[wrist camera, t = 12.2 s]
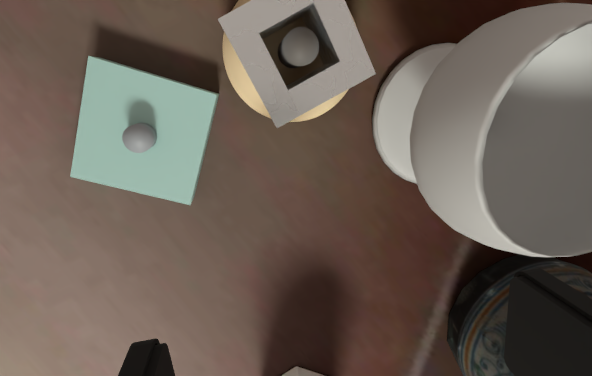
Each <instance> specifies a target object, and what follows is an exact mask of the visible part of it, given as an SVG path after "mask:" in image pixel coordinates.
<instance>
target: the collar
mask: <svg viewBox="0 0 592 376" xmlns="http://www.w3.org/2000/svg"><path fill="white" fill-rule="evenodd" d="M301 17H302V19H303V21H304V23H305V26H306V28H308V29H310V30H311V31H313V32H314V34H315V35H316V37H317V39H318V42H319V51H318V53H319V56H320V58H321V60H322V62H323V64H324V65H323V66H321V67H319V68H317V69H316V70H314V71H312V72H310V73H308V74H307V75H305V76H303V77H301V78H299V79H298V80H296V81H294V82H292V83H290V84H288V85H287V86H286V85H285V83H284V81H283V79H282V77H281V75H280V73H279V72H278V70H277V68H276V66H275V64H274V62H273V60H272V58H271V56H270V54H269V52H268V50H267V48H266V46H265V44H264V42H263V40H262V39H264V38H266V37H267V36H269V35H271V34H273V33H274V32H276V31H278V30H280V29H282V28H283V27H285V26H287V25H289V24H291V23H292V22H294V21H296V20H298V19H299V18H301ZM218 20H219V22H220V24H221V26H222V28H223V30H224V32H225V34H226V36H227V37H228V39H229V41H230V43H231V45H232V47H233V49H234V50H235V52H236V54H237V56H238V58H239V60H240V61H241V63H242V65H243V67H244V69H245V71H246V72H247V74H248V76H249V78H250V80H251V82H252V84H253V85H254V87H255V89H256V91H257V93H258V95H259V96H260V98H261V100H262V102H263V104H264V106H265V107H266V109H267V111H268V113H269V115H270V117H271V119H272V120H273V122H274V124H275V126H276V127H277V128H278V127H280V126H282V125H284V124H286V123H288V122H289V121H291V120H293V119H295V118H297V117H298V116H300V115H302V114H304V113H306V112H308V111H309V110H311V109H313V108H315V107H317V106H318V105H320V104H322V103H324V102H326V101H327V100H329V99H331V98H333V97H335V96H337V95H338V94H340V93H342V92H344V91H346V90H347V89H349V88H351V87H353V86H355V85H357V84H358V83H360V82H362V81H364V80H366V79H367V78H369V77H371V76H373V75H375V74H376V73H375V71H374V68H373V66H372V63H371V61H370V59H369V56H368V54H367V52H366V49H365V47H364V45H363V42H362V40H361V37H360V35H359V33H358V30H357V28H356V26H355V23H354V21H353V19H352V16H351V14H350V11H349V9H348V7H347V4H346V2H345V0H251V1H249V2H247V3H245V4H244V5H242V6H240V7H238V8H236V9H235V10H233V11H231V12H229V13H228V14H226V15H224V16H222V17H221V18H219V19H218Z"/></svg>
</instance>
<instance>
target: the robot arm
mask: <svg viewBox="0 0 592 376" xmlns="http://www.w3.org/2000/svg"><path fill="white" fill-rule="evenodd" d="M504 360H505V363H506V365H507V367H508V369H509V370H510V371H511V372H512V373H513V374H514V375H515V376H592V299H591V298H589V297H588V296H586V295H584V294H583V293H581V292H579V291H578V290H576V289H574V288H573V287H571V286H569V285H568V284H566V283H564V282H563V281H561V280H559V279H558V278H556V277H554V276H553V275H551V274H549V273H548V272H546V271H544V270H543V269H540V268H533V269H528V270H523V271H518V272H516V273H515V275H514V278H512V279H511V280H510V287H509V299H508V312H507V324H506V336H505V349H504ZM118 376H175V373H174V369H173V365H172V361H171V357H170V353H169V349H168V346H167V344H166V343H163V344H160V343H159V340H158V339H151V340H146V341H140V342H135V343H133V344H131V346H130V348H129V351H128V353H127V355H126V358H125V360H124V363H123V365H122V367H121V370H120V372H119V375H118Z"/></svg>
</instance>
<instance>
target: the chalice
mask: <svg viewBox="0 0 592 376" xmlns="http://www.w3.org/2000/svg"><path fill="white" fill-rule="evenodd" d="M372 127H373V137H374V141H375V144H376V148H377V151H378V152H379V154H380V156H381V158H382V160H383V161H384V163H385V164H386V165H387V166H388V167H389V168H390V169H391V170H392V171H393V172H394V173H395V174H397V175H398V176H400V177H401V178H403V179H404V180H407V181H410V182H413V183H416V184H418V188H419V190H420V192H421V194H422V195H423V197H424V198H425V200H426V202H427V203H428V205H429V206H430V208H431V209H432V210H433V211H434V212H435V213H436V214H437V215H438V216H439V217H440V218H441V219H442V220H443V221H444V222H446V223H447V224H448V225H449V226H450V227H451V228H453V229H454V230H455V231H457V232H459V233H461V234H463V235H465V236H467V237H469V238H471V239H473V240H475V241H477V242H479V243H482V244H484V245H486V246H489V247H492V248H495V249H499V250H503V251H508V252H512V253H517V254H522V255H527V256H532V257H569V256H577V255H581V254H585V253H589V252H592V5H590V4H577V3H555V4H546V5H540V6H534V7H529V8H523V9H519V10H516V11H513V12H510V13H508V14H506V15H503V16H501V17H499V18H496V19H494V20H492V21H490V22H487V23H485V24H483V25H482V26H480V27H479V28H478V29H476V30H475V31H473V32H472V33H471V34H469V35H468V36H467V37H465V38H464V39H462V40H461V41H460V42H459V43H458V44H455V43H441V44H432V45H430V46H427V47H424V48H422V49H419V50H417V51H415V52H414V53H412V54H411V55H409V56H408V57H406V58H405V59H403V60H402V61H401V62H400V63H399V64H398V65H397V66H396V67H395V68H394V69H393V70H392V71H391V72H390V74H389V75H388V77H387V78H386V80H385V81H384V83H383V84H382V86H381V88H380V91H379V93H378V96H377V98H376V101H375V105H374V111H373V117H372Z"/></svg>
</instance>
